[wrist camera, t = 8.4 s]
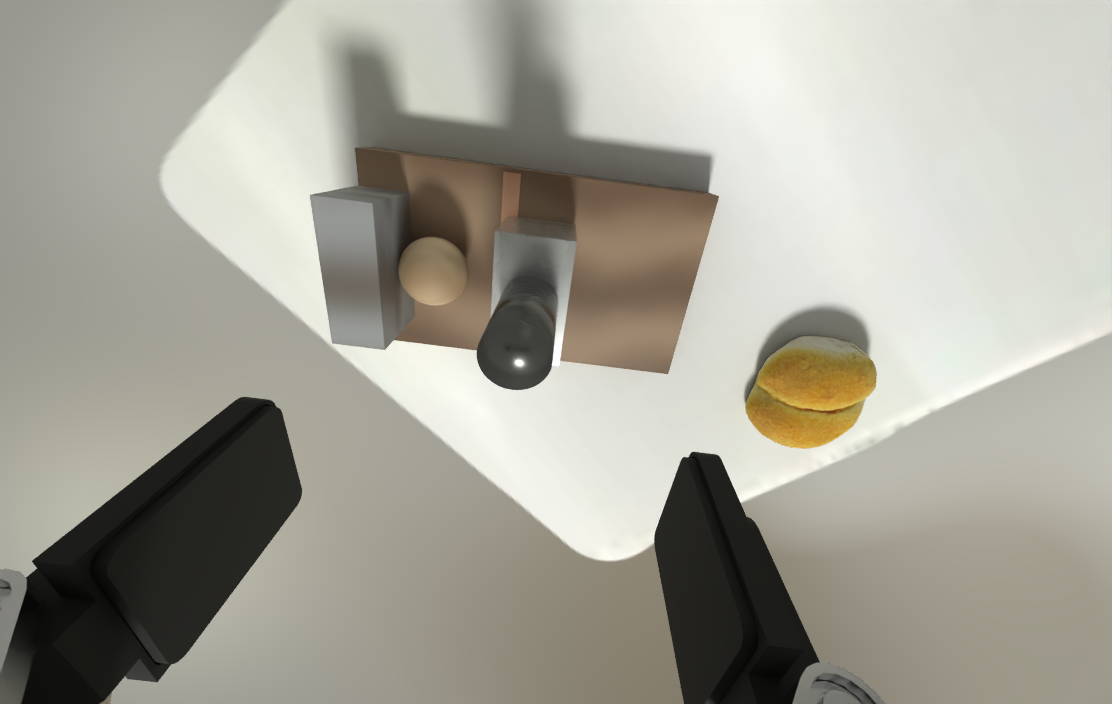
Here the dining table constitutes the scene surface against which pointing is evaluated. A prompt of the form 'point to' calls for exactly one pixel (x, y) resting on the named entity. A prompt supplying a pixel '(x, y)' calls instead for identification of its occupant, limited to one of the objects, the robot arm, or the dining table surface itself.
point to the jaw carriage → (527, 301)
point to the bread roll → (811, 391)
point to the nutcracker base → (468, 252)
